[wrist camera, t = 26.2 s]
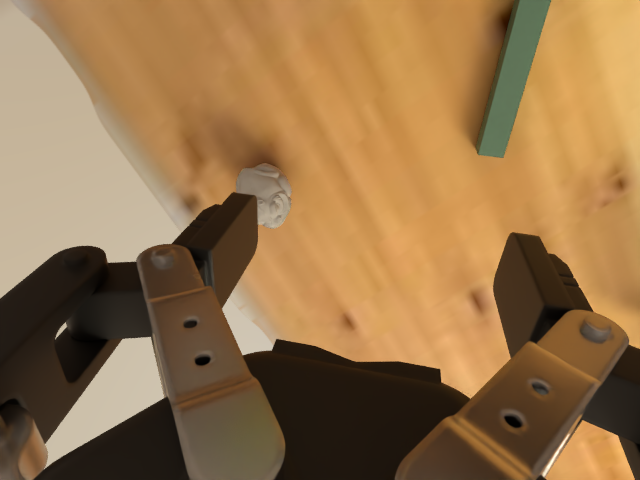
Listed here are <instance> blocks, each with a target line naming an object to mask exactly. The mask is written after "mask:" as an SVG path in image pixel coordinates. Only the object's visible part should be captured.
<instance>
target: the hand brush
mask: <svg viewBox="0 0 640 480" xmlns="http://www.w3.org/2000/svg"><path fill="white" fill-rule="evenodd" d="M550 2H551V0H515V1H514V4H513V8H512V12H511V16H510V20H509V23H508V27H507V31H506V35H505V38H504V42H503V46H502V50H501V54H500V57H499V61H498V65H497V69H496V73H495V76H494V80H493V84H492V88H491V91H490V95H489V99H488V103H487V107H486V110H485V114H484V118H483V122H482V126H481V129H480V133H479V137H478V141H477V144H476V151H477V153H478V155H484V156H492V157H500V158H503V157H504V154H505V151H506V147H507V144H508V141H509V137H510V134H511V131H512V127H513V124H514V121H515V118H516V114H517V111H518V108H519V104H520V101H521V98H522V94H523V91H524V88H525V85H526V81H527V78H528V75H529V71H530V68H531V65H532V61H533V58H534V55H535V52H536V48H537V45H538V42H539V38H540V35H541V32H542V28H543V25H544V22H545V19H546V15H547V12H548V9H549V5H550Z"/></svg>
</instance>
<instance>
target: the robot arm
mask: <svg viewBox="0 0 640 480" xmlns="http://www.w3.org/2000/svg"><path fill="white" fill-rule="evenodd" d="M257 242H258V206H257V197H256V196H255V195H250V194H243V193H236V192H233V193H231V195H230V196H229V197H228V198H227V199H226V200H225V201H224V202H223V204H222V205H217V204H215V205H213V206H211V207H209V208H207V209H205V210H203V211H202V212H201V213H200V214H199V215H198V216H197V217H196V220H193V222H192V223H191V224H190V226H188V227H187V228H186V229H185V230H184V231H183V232H182V233H181V234H180V235H179V236H178V237H177V239H176V240H175V241H174V242H173V243H172V244H163V245H157V246H154V247H151V248H148V249H147V250H145V251H143V252H142V253H141V254H140V255H139V256H138V257H137V260H136V261H137V262H120V263H107V258H106V254H105V252H104V251H103V250H102V249H100V248H98V247H93V246H78V247H72V248H69V249H65V250H63V251H60V252H58V253H57V254H55V255H53V256H52V257H51V258H49V259H48V260H47V261H46V262H44V263H43V264H42V265H41V266H40V267H38V268H37V269H36V270H35V271H33V272H32V273H31V274H30V275H29V276H27V277H26V278H25V279H24V280H23V281H21V282H20V283H19V284H18V285H16V286H15V287H14V288H13V289H12V290H10V291H9V292H8V293H7V294H6V295H4V296H3V297H2V298H1V299H0V480H546V479H545V477H546V475H547V474H548V472H549V471H550V469H551V468H552V466H553V465H554V463H555V461H556V460H557V458H558V457H559V455H560V454H561V452H562V451H563V449H564V448H565V446H566V445H567V443H568V442H569V440H570V439H571V437H572V436H573V434H574V433H575V431H576V430H577V428H578V427H579V425H580V424H581V422H582V420H584V421H586V422H589V423H591V424H593V425H595V426H598V427H600V428H602V429H605V430H607V431H609V432H612V433H614V434H616V435H618V436H619V440H620V442H621V445H622V447H623V450H624V452H625V455H626V457H627V460H628V463H629V465H630V468H631V470H632V473H633V475H634V478H635V480H640V349H638V348H635V347H633V346H631V345H628V344H629V339H628V336H627V334H626V333H625V332H624V330H623V329H622V328H621V327H620V326H618V325H617V324H616V323H615V322H613V321H612V320H610V319H608V318H606V317H604V316H602V315H600V314H597V313H594V312H593V310H592V308H591V306H590V305H589V303H588V301H587V299H586V297H585V296H584V294H583V292H582V290H581V288H579V287H578V286H579V285H578V283H577V281H576V280H575V278H573V277H574V276H573V274H572V272H571V271H570V269H569V267H568V265H567V264H565V263H564V262H563V261H562V260H561V259H559V258H558V257H557V256H556V255H555V254H548V253H547V251H546V249H545V247H544V245H543V243H542V241H541V239H540V237H539V236H535V235H528V234H521V233H514V232H512V233H511V234H510V235H509V237H508V239H507V242H506V245H505V248H504V251H503V254H502V256H501V259H500V262H499V265H498V268H497V271H496V274H495V278H494V285H493V291H494V297H495V300H496V304H497V308H498V312H499V315H500V319H501V323H502V327H503V330H504V334H505V338H506V342H507V345H508V349H509V353H510V357H511V359H510V360H509V361H508V362H507V363H506V364H505V365H504V366H503V367H502V368H501V369H500V370H499V371H498V372H497V373H496V374H495V375H494V376H493V377H492V378H491V379H490V380H489V381H488V382H487V383H486V384H485V385H484V386H483V387H482V388H481V389H480V390H479V391H478V392H477V393H476V394H475V395H474V396H473V397H472V398H471V399H470V398H468V397H467V396H466V395H464V394H462V393H461V392H459V391H458V390H456V389H454V388H452V387H450V386H448V385H446V384H444V383H441V373H440V369H436V368H431V367H426V366H420V365H415V364H409V363H404V362H355V361H351V360H349V359H346V358H344V357H341V356H339V355H336V354H334V353H331V352H329V351H326V350H324V349H321V348H319V347H316V346H312V345H306V344H301V343H296V342H290V341H285V340H279V339H276V341H275V344H274V347H273V349H272V351H261V352H254V353H250V354H246V355H243V356H242V353H241V351H240V349H239V347H238V344H237V342H236V340H235V338H234V335H233V333H232V331H231V329H230V327H229V324H228V322H227V320H226V318H225V315H224V313H223V311H222V308H223V306H224V304H225V303H226V301H227V299H228V298H229V296H230V294H231V293H232V291H233V289H234V288H235V286H236V284H237V283H238V281H239V279H240V278H241V276H242V274H243V273H244V271H245V269H246V267H247V266H248V264H249V262H250V261H251V259H252V257H253V256H254V254H255V251H256V248H257ZM65 322H66V324H67V328H66V329H65V330H64V331H63V332H62V333H61V334H60V335H59V336H58V337H57V338H56V339H55V337H56V334H57V332H58V330H59V329H60V327H61V326H62V325H63V324H64V323H65ZM138 337H139V338H140V337H151V340H152V345H153V349H154V353H155V358H156V362H157V366H158V371H159V376H160V380H161V384H162V389H163V394H164V399H162V400H160V401H158V402H157V403H155V404H153V405H151V406H150V407H148V408H146V409H144V410H143V411H141V412H139V413H137V414H136V415H134V416H132V417H131V418H129V419H127V420H125V421H124V422H122V423H120V424H118V425H117V426H115V427H113V428H111V429H110V430H108V431H106V432H104V433H103V434H101V435H100V436H97V437H96V438H94V439H92V440H90V441H89V442H87V443H85V444H84V445H82V446H80V447H78V448H76V449H75V450H73V451H71V452H69V453H68V454H66V455H64V456H63V457H61V458H60V459H58V460H56V461H55V462H53V463H52V464H51V465H49V466H48V467H47V468H45V466H46V463H47V458H48V451H47V448H46V446H45V443H46V442H47V441H48V439H49V438H50V437H51V435H52V434H53V433H54V431H55V430H56V429H57V427H58V426H59V424H60V423H61V422H62V420H63V419H64V418H65V416H66V415H67V414H68V412H69V411H70V410H71V408H72V407H73V405H74V404H75V403H76V401H77V400H78V398H79V397H80V396H81V395H82V393H83V392H84V391H85V389H86V388H87V386H88V385H89V384H90V382H91V381H92V380H93V378H94V377H95V375H96V374H97V373H98V372H99V370H100V369H101V367H102V366H103V365H104V363H105V362H106V360H107V359H108V358H109V357H110V355H111V354H112V353H113V351H114V350H115V348H116V347H117V346H118V344H119V343H120V341H121V340H122V339H125V338H138ZM44 468H45V469H44Z"/></svg>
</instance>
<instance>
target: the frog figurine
mask: <svg viewBox="0 0 640 480" xmlns="http://www.w3.org/2000/svg"><path fill="white" fill-rule="evenodd" d="M236 192H237V193H243V194H250V195H255V196H256V197H257V206H258V225H260V224H262V225H263V226H265V227H268V228H273V229H274V228H277V227H279V226H280V225H281V224H282V223H283V222H284V220H285V219H286V217H287V215H288V213H289V211H290V208H291V198H290V197H289V196H291V193H292V191H291V186H290V184H289V182H288V179H287V178H286V176H285V175H284V173H283V172H282V171H281V170H280V169H278V168H277V167H275V166H273V165H270V164H268V163H263V164H260V165H257V166H256V167H254V168H243V169H242V171H241V172H240V174H239V175H238V178H237V181H236Z"/></svg>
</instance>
